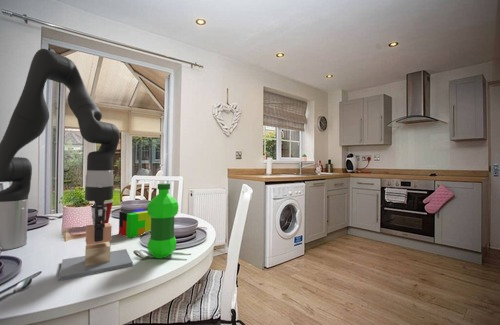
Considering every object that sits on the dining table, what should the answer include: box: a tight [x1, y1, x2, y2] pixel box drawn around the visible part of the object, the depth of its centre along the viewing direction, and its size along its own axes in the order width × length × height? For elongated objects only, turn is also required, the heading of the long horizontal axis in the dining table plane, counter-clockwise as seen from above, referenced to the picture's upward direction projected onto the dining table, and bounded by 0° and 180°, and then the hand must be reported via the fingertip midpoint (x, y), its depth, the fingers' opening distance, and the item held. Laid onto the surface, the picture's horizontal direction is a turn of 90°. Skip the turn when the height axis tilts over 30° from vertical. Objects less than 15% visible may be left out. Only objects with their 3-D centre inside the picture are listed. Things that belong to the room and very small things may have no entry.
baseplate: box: [58, 248, 134, 282], centre depth 75 cm, size 18×14×1 cm
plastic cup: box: [104, 200, 114, 223], centre depth 122 cm, size 11×11×12 cm
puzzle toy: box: [118, 208, 151, 239], centre depth 109 cm, size 10×10×10 cm
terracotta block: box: [85, 222, 113, 246], centre depth 75 cm, size 6×5×5 cm
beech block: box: [84, 242, 111, 266], centre depth 75 cm, size 6×5×5 cm
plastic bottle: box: [147, 183, 179, 259], centre depth 83 cm, size 10×10×25 cm
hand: (98, 238), depth 75 cm, fingers closed on terracotta block, 5 cm apart
